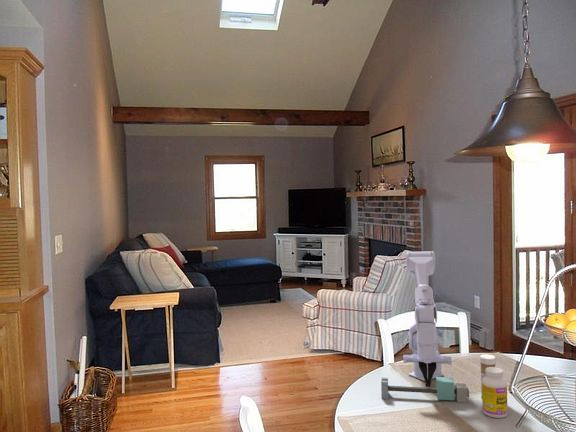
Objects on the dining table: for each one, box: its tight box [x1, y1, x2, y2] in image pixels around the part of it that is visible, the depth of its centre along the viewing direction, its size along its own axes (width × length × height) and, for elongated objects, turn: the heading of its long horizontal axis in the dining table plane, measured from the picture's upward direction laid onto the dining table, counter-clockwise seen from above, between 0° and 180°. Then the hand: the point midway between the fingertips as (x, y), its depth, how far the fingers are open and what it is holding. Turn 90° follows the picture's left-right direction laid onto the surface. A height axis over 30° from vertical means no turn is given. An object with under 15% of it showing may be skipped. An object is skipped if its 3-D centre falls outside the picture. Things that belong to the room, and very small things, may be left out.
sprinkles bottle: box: [479, 353, 497, 399], centre depth 146 cm, size 5×5×13 cm
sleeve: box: [435, 376, 455, 401], centre depth 147 cm, size 5×4×6 cm
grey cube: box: [455, 382, 470, 404], centre depth 146 cm, size 4×4×4 cm
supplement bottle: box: [481, 366, 508, 419], centre depth 136 cm, size 7×7×13 cm
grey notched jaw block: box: [380, 377, 390, 400], centre depth 151 cm, size 2×5×5 cm, turn 167°
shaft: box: [388, 385, 457, 395], centre depth 149 cm, size 23×1×1 cm, turn 77°
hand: (427, 385), depth 148 cm, fingers closed
